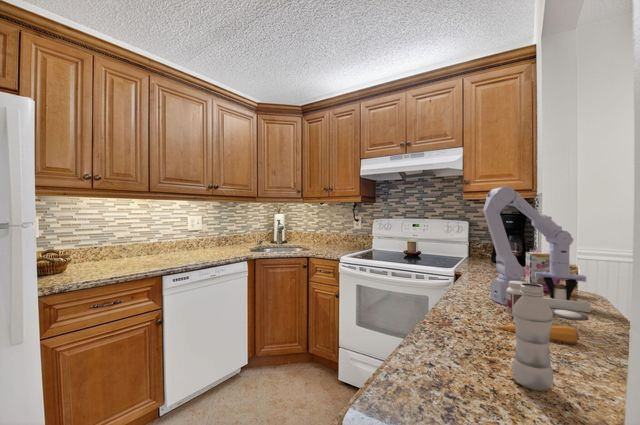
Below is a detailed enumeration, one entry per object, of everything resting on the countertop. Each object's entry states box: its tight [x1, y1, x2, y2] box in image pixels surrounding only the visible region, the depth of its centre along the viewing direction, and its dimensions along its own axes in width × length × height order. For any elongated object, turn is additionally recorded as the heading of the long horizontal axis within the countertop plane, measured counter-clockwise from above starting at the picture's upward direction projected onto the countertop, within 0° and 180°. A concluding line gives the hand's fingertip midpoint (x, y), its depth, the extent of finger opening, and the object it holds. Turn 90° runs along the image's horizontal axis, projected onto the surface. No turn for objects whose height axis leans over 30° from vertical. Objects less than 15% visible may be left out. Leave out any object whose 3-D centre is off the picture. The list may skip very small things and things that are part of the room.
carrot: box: [495, 325, 580, 345], centre depth 82 cm, size 20×4×4 cm, turn 53°
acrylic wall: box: [542, 297, 591, 313], centre depth 103 cm, size 1×14×3 cm, turn 60°
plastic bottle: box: [512, 282, 554, 392], centre depth 58 cm, size 6×7×20 cm
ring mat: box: [550, 308, 589, 321], centre depth 97 cm, size 10×10×1 cm
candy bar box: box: [525, 251, 561, 293], centre depth 126 cm, size 11×5×16 cm, turn 77°
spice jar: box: [553, 283, 567, 300], centre depth 108 cm, size 4×4×7 cm
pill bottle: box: [506, 280, 526, 317], centre depth 97 cm, size 6×6×11 cm
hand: (559, 298), depth 108 cm, fingers closed on spice jar, 4 cm apart
